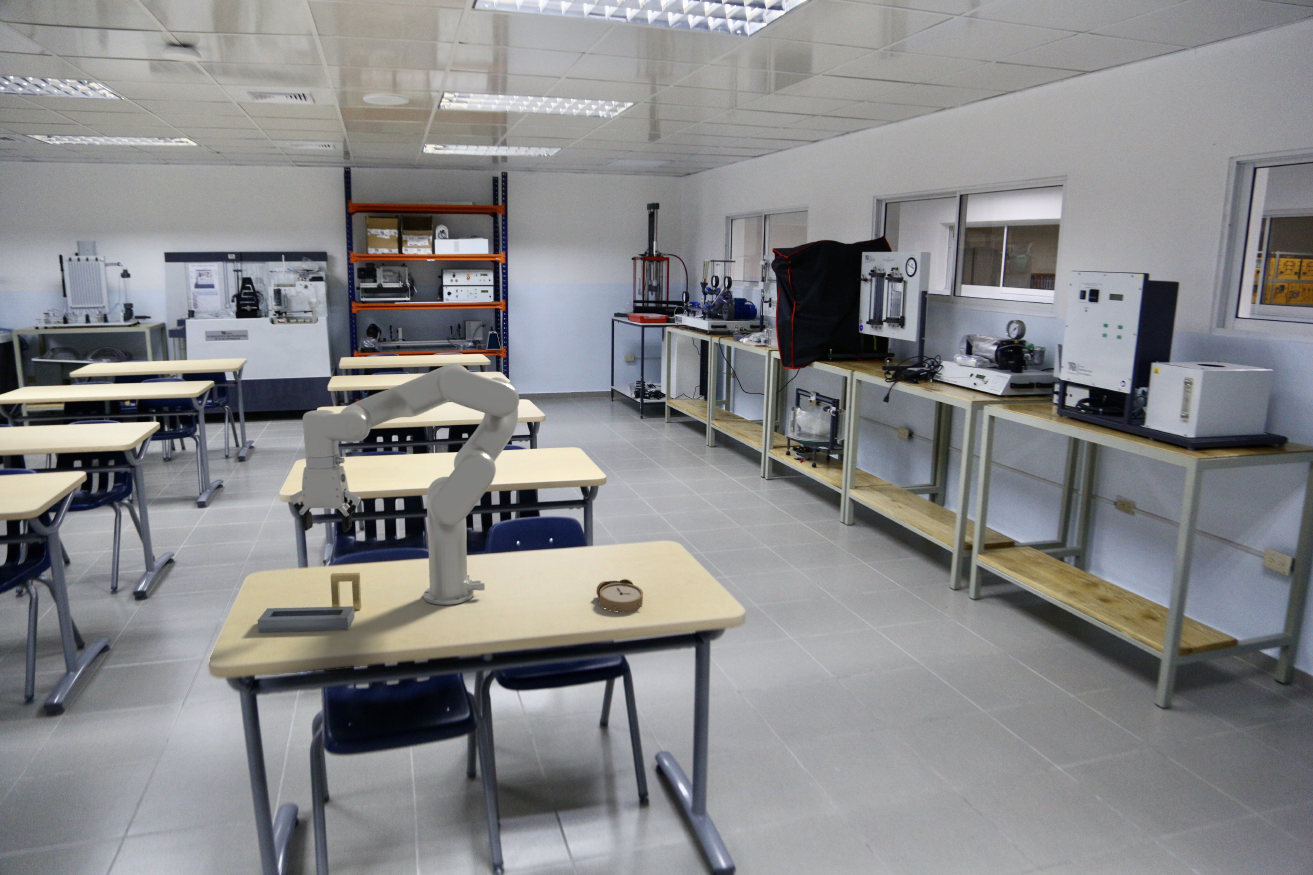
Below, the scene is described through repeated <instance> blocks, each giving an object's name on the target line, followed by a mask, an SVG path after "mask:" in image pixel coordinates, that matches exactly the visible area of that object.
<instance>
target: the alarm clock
mask: <svg viewBox="0 0 1313 875" xmlns="http://www.w3.org/2000/svg"><path fill="white" fill-rule="evenodd" d="M596 596H597V597H598V598H599V600H598V601H599V602H598V603H600V604H599V606H600V605H601V606H602V607H603V608H606V609H607V610H611V611H618V612H617V613H620V612H622V613H630V611H631V612H635V611H637V609H638V610H639V609H641V608H642V607H643V601H644V591H643V589H641V588H640V587H639V586H638V585H635V584H634V583H633V582H632V580H631V579H628V578H623V579H620V580H608V581H606V580H603V581H601V582H599V584H598V585H597V587H596ZM599 596H600V597H599ZM601 606H600V607H601ZM602 607H601V608H602ZM640 607H641V608H640ZM603 608H602V609H603ZM607 610H606V611H607ZM634 610H635V611H634ZM611 611H610V612H611Z"/></svg>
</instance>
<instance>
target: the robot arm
mask: <svg viewBox="0 0 1313 875" xmlns="http://www.w3.org/2000/svg"><path fill="white" fill-rule="evenodd" d="M449 402H451V403H453V404H455V405H456V404H457V405H459V406H461V407H465V408H468V409H471V410H474V411H478V412H480V413H484V414H483V418H482V420H481V422H479V424H478V426H477V428H476V429H475V431H474V432H473V434H471V436H470V437H469V439H468V440H467V441H466V442H465V444H463V446H462V447H461V448H460V449H459V451H458V452H457V453H456V455H455V456H454V461H453V467H454V469H453V470H452V472H451V473H450V475H449V476H441V477H438V478H436V479H434V480H433V481H432V482H431V483H430V485H429V486H428V488H427V491H426V498H425V499H426V510H427V511H426V513H427V532H428V533H427V534H428V536H427V537H428V541H427V542H428V570H429V571H428V572H429V573H428V577H429V587H428V588H426V589H425V590H424V591H423V599H424V600H425V601H426V602H428V603H430V604H433V605H441V606H447V605H448V606H451V605H457V604H461V603H464V602H467V601H468V600H470V599H472V598H473V596H474V591H481V592H482V591H485V589H486V588H485V585H486V584H485V583H484V582H481V580H472V579H470V575H468V565H467V564H468V560H467V558H468V557H467V554H468V552H467V551H468V550H467V516H468V515H469V514H470V513H471V511H472V510H473V509H474V507H476V505H477V504H478V502H479V501H480V500H481V499H482V497H483V496H484V494H485V493H486V492H487V491H488V489H489V488H490V487H491V485H492V483H493V482H494V479H495V477H496V471H497V468H496V463H495V462H496V460H497V459H498V457H499V456H500V454H502V452H503V450H504V449H505V447H506V446H507V445H508V443H509V442H510V440H511V438H512V437H513V435H514V432H515V431H516V428H517V426H518V419H519V418H518V417H519V408H518V407H519V403H520V395H519V393H518V391H517V389H516V388H515V387H514V385H513V384H511V383H510V382H509V381H508V380H507V379H505V378H502V377H491V378H489V377H486V376H484V375H480V374H478V373H475V372H472V371H470V370H468V369H467V368H466V367H464V366H463V365H461V364H458V363H449V364H446V365H443V366H442V367H439V368H437V369H433V370H431V371H429V372H427V373H424V374H422V375H420V376H418V377H416V378H413V379H411V380H409V381H406V382H404V383H401V384H398V385H396V386H393V387H391V388H388V389H386V390H383V391H382V390H381V391H380V392H377V393H374V394H372V395H369V396H367V397H365V398H363V399H361V400H358V401H356V402H353V403H351V404H349V405H347V406H346V407H344V408H343V409H342V410H341V411H340V412H339V413H335V412H334V411H332V410H326V409H317V410H310V411H306V412H305V413H304V414H303V416H302V428H303V431H302V432H303V441H304V455H305V467H304V468H303V473H302V480H301V490H300V491H298V492H296V493H294V494H291V495H290V496H289V500H290V502H291V503H292V504H293V508H294V509H296V510H297V511H298V513H299V515H300V516H301V523H302V527H303V531H306V532H307V531H309V530H310V529H312V528H313V527H314V526H313V513H312V511H310V510H311V509H335V510H336V509H338V510H339V511H340V512H341V513H342V514H343V515H342V516H341V524H342V532H343V533H346V532H348V531H349V530H350V529H351V528H352V526H353V522H352V514H353V513H354V511H355V510H356V509H357V508H358V507H359V504H360V503H361V500H362V497H360V496H359V495H357V494H355V493H353V492H351V491H349V484H348V479H347V474H346V471H345V468H344V466H343V465H342V464H344V463H345V462H346V461H345V457H342V456H341V454H340V452H339V442H346V443H358V442H361V441H364V439H366V438H367V437H368V436H369V433H370V432H371V428H375V427H376V426H379V425H381V424H383V423H386V422H388V421H391V420H395V419H399V418H412V417H413V418H414V417H417V416H419V415H422V414H424V413H427V412H429V411H431V410H433V409H435V408H438V407H440V406H442V405H444V404H447V403H449ZM300 497H301V498H302V499H301V500H302V501H300V499H299V498H300ZM350 500H351V501H352V503H351V505H349V503H350Z"/></svg>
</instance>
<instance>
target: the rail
mask: <svg viewBox="0 0 1313 875" xmlns="http://www.w3.org/2000/svg"><path fill="white" fill-rule="evenodd" d="M354 620H355V610H354V606H353V605H351V606H350V605H349V606H348V605H347V606H341V607H332V606H311V607H310V606H309V607H304V606H303V607H273V608H271V607H269V608H268V607H267V608H266V609H265V610H264V612H263V613H262V615H260V617H259V618H258V619H257V629H258V630H257V632H258V633H285V632H286V633H289V632H290V633H292V632H296V633H297V632H324V631H325V632H326V631H348V630H349V629H350V628H351V626H352V623H353V621H354Z"/></svg>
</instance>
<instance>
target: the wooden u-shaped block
mask: <svg viewBox="0 0 1313 875" xmlns="http://www.w3.org/2000/svg"><path fill="white" fill-rule="evenodd" d="M341 582H343V583H344V582H351V586H352V587H351V588H352V606H354V611H361V609H362V594H361V593H362V591H361V590H362V589H361V588H362V587H361V573H360V572H335V573H331V574H330V588H331V590H330V592H331V607H342V606H341V592H340V591H341V590H340V589H341V588H340V583H341Z"/></svg>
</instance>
